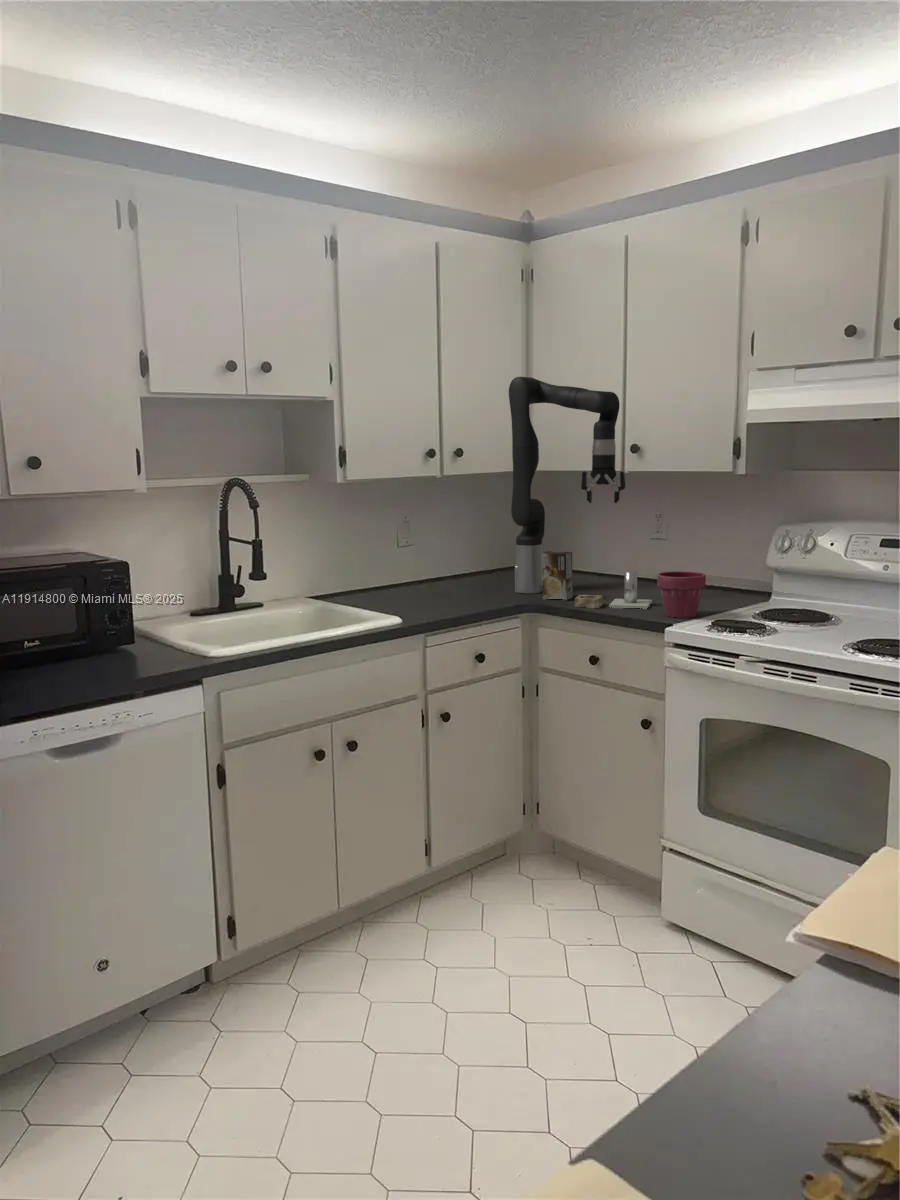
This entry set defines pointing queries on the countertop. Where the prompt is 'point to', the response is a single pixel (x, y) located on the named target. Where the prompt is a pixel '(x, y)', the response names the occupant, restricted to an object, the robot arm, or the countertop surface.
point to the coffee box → (557, 575)
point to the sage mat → (630, 604)
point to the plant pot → (681, 592)
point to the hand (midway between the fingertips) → (602, 502)
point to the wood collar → (588, 601)
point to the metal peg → (630, 587)
